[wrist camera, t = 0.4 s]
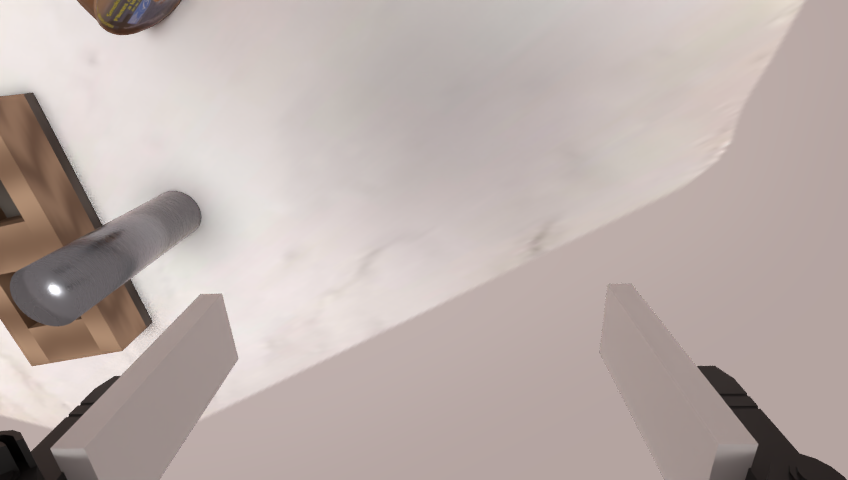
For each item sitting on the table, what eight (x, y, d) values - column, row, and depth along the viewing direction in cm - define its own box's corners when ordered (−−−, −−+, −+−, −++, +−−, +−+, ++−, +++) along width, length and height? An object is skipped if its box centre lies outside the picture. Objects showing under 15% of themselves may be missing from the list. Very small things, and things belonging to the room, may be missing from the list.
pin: (147, 195, 43) (-5, 273, 29) (190, 186, 43) (58, 260, 28) (167, 237, 45) (33, 331, 30) (208, 229, 45) (92, 320, 30)
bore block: (-65, 117, 41) (-129, 126, 37) (32, 92, 40) (-21, 98, 35) (69, 336, 50) (31, 366, 46) (152, 322, 49) (122, 350, 44)
